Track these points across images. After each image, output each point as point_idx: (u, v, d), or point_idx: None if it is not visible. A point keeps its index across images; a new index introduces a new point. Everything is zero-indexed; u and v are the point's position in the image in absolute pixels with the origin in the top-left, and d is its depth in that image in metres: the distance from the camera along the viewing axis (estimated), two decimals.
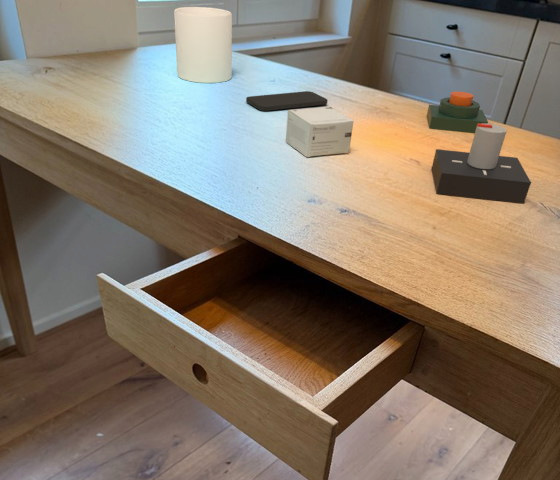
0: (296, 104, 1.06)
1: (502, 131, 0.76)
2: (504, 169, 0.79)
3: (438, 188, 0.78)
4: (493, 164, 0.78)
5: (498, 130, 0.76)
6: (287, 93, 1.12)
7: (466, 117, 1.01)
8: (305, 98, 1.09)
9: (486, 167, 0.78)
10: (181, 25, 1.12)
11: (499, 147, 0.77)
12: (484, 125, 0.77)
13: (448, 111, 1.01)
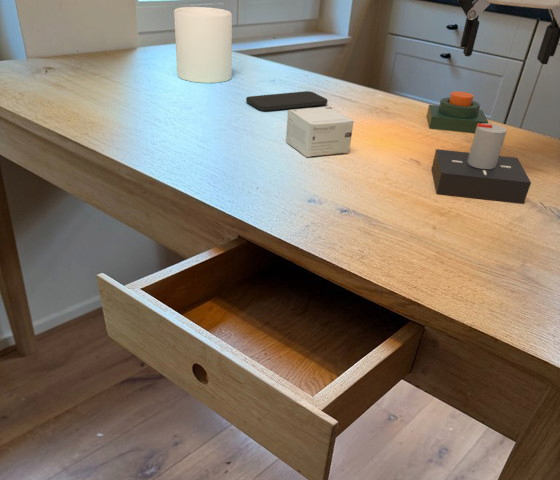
0: (296, 104, 1.06)
1: (502, 131, 0.76)
2: (504, 169, 0.79)
3: (438, 188, 0.78)
4: (493, 164, 0.78)
5: (498, 130, 0.76)
6: (287, 93, 1.12)
7: (466, 117, 1.01)
8: (305, 98, 1.09)
9: (486, 167, 0.78)
10: (181, 25, 1.12)
11: (499, 147, 0.77)
12: (484, 125, 0.77)
13: (448, 111, 1.01)
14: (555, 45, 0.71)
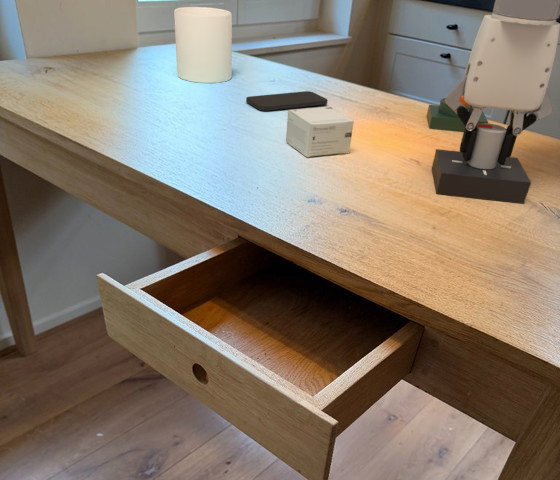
0: (296, 104, 1.06)
1: (502, 131, 0.76)
2: (504, 169, 0.79)
3: (438, 188, 0.78)
4: (493, 164, 0.78)
5: (498, 130, 0.76)
6: (287, 93, 1.12)
7: None
8: (305, 98, 1.09)
9: (486, 167, 0.78)
10: (181, 25, 1.12)
11: (499, 147, 0.77)
12: (484, 125, 0.77)
13: (448, 111, 1.01)
14: (511, 148, 0.77)
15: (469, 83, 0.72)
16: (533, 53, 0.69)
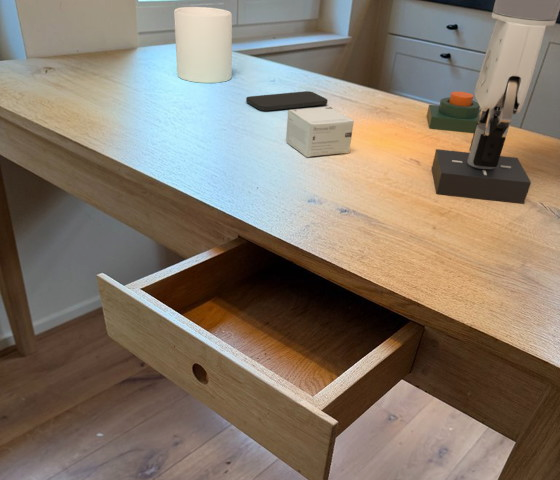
0: (296, 104, 1.06)
1: None
2: (504, 169, 0.79)
3: (438, 188, 0.78)
4: None
5: None
6: (287, 93, 1.12)
7: (466, 117, 1.01)
8: (305, 98, 1.09)
9: None
10: (181, 25, 1.12)
11: None
12: None
13: (448, 111, 1.01)
14: None
15: (525, 94, 0.69)
16: None
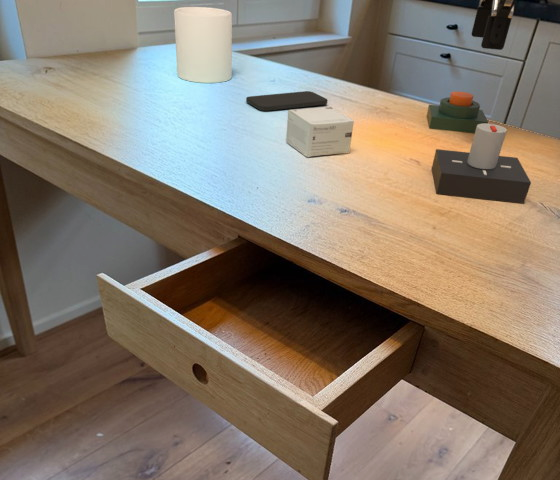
0: (296, 104, 1.06)
1: (499, 126, 0.78)
2: (504, 169, 0.79)
3: (438, 188, 0.78)
4: None
5: (498, 126, 0.77)
6: (287, 93, 1.12)
7: (466, 117, 1.01)
8: (305, 98, 1.09)
9: None
10: (181, 25, 1.12)
11: None
12: (494, 128, 0.76)
13: (448, 111, 1.01)
14: None
15: None
16: None
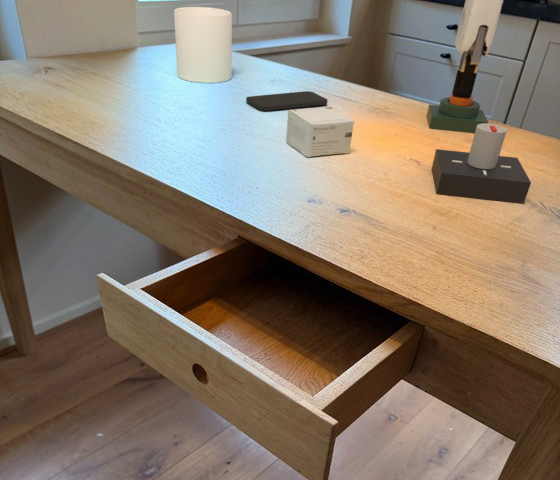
0: (296, 104, 1.06)
1: (499, 126, 0.78)
2: (504, 169, 0.79)
3: (438, 188, 0.78)
4: None
5: (498, 126, 0.77)
6: (287, 93, 1.12)
7: (466, 117, 1.01)
8: (305, 98, 1.09)
9: None
10: (181, 25, 1.12)
11: None
12: (494, 128, 0.76)
13: (448, 111, 1.01)
14: None
15: (492, 39, 0.92)
16: None
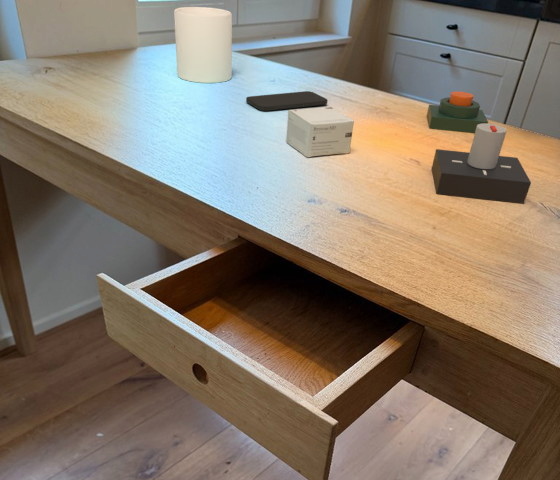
0: (296, 104, 1.06)
1: (499, 126, 0.78)
2: (504, 169, 0.79)
3: (438, 188, 0.78)
4: None
5: (498, 126, 0.77)
6: (287, 93, 1.12)
7: (466, 117, 1.01)
8: (305, 98, 1.09)
9: None
10: (181, 25, 1.12)
11: None
12: (494, 128, 0.76)
13: (448, 111, 1.01)
14: None
15: None
16: None
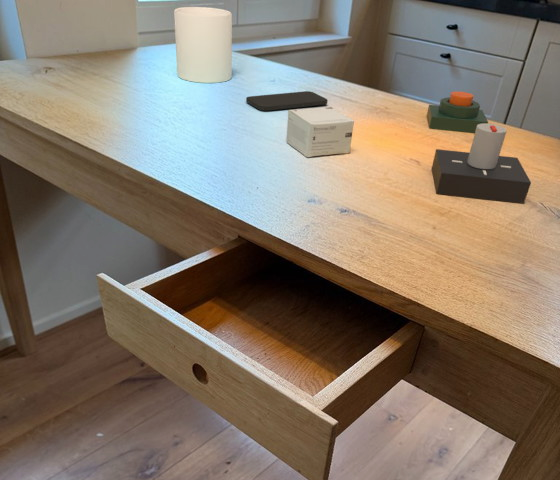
0: (296, 104, 1.06)
1: (499, 126, 0.78)
2: (504, 169, 0.79)
3: (438, 188, 0.78)
4: None
5: (498, 126, 0.77)
6: (287, 93, 1.12)
7: (466, 117, 1.01)
8: (305, 98, 1.09)
9: None
10: (181, 25, 1.12)
11: None
12: (494, 128, 0.76)
13: (448, 111, 1.01)
14: None
15: None
16: None
